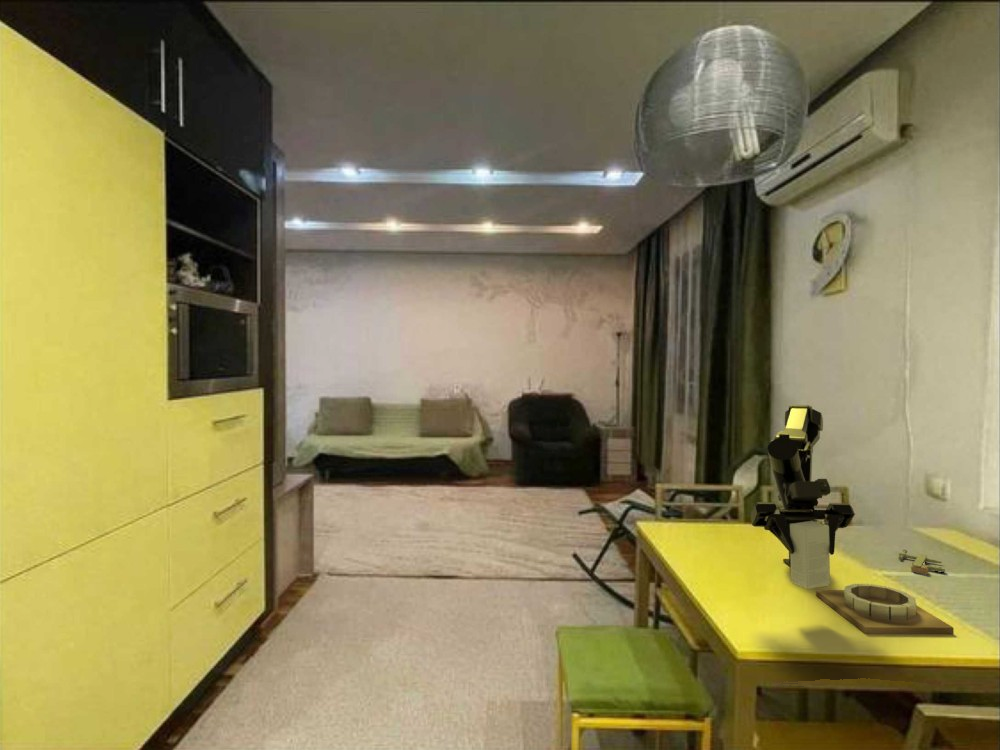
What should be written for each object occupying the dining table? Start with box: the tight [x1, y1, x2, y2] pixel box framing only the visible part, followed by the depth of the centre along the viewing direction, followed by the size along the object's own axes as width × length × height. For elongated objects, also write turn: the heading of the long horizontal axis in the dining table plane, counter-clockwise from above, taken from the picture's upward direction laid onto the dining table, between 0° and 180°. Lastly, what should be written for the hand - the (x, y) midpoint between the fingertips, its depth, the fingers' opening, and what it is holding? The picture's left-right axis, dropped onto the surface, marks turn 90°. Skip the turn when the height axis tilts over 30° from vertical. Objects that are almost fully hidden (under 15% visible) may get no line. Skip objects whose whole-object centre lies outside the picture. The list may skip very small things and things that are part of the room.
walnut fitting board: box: [815, 589, 955, 635], centre depth 116 cm, size 18×16×1 cm
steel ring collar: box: [843, 583, 917, 620], centre depth 116 cm, size 12×12×2 cm
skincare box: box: [790, 521, 831, 590], centre depth 115 cm, size 6×4×12 cm
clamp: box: [898, 549, 946, 575], centre depth 143 cm, size 15×2×10 cm
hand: (812, 553), depth 113 cm, fingers closed on skincare box, 7 cm apart
